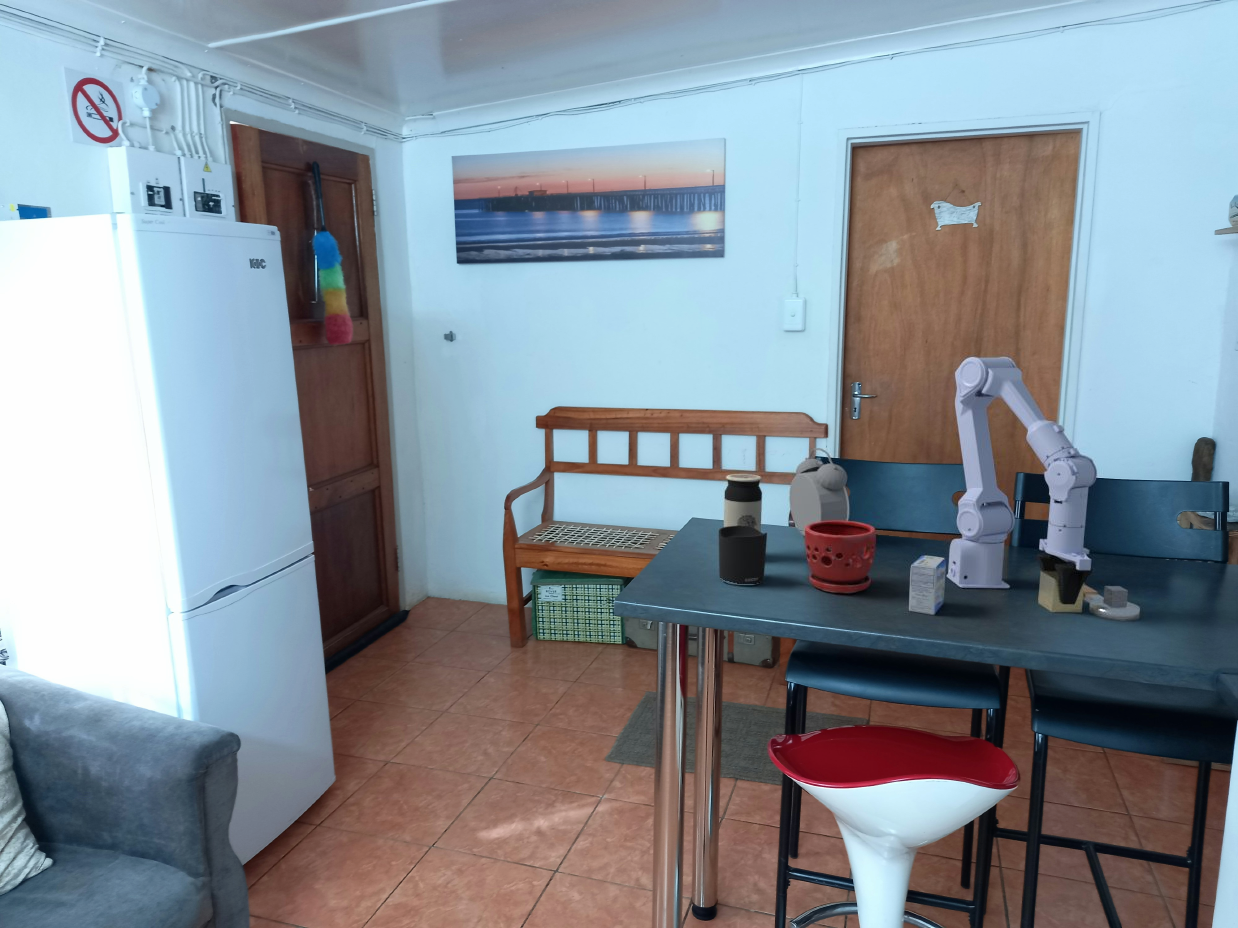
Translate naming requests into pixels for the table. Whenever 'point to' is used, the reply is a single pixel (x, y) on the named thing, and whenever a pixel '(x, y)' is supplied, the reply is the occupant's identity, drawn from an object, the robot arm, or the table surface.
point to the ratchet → (1111, 604)
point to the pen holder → (742, 554)
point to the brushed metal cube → (1055, 594)
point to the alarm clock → (818, 493)
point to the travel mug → (743, 501)
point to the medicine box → (927, 584)
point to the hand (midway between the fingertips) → (1060, 598)
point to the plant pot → (840, 555)
